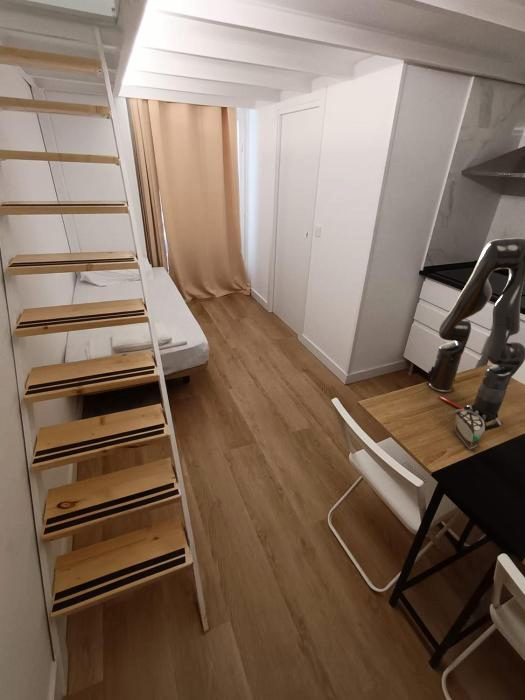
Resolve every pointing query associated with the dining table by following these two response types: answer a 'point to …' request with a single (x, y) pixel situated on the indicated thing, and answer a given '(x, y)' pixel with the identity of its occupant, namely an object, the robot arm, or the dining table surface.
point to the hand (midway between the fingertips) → (475, 434)
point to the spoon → (451, 403)
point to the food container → (469, 427)
